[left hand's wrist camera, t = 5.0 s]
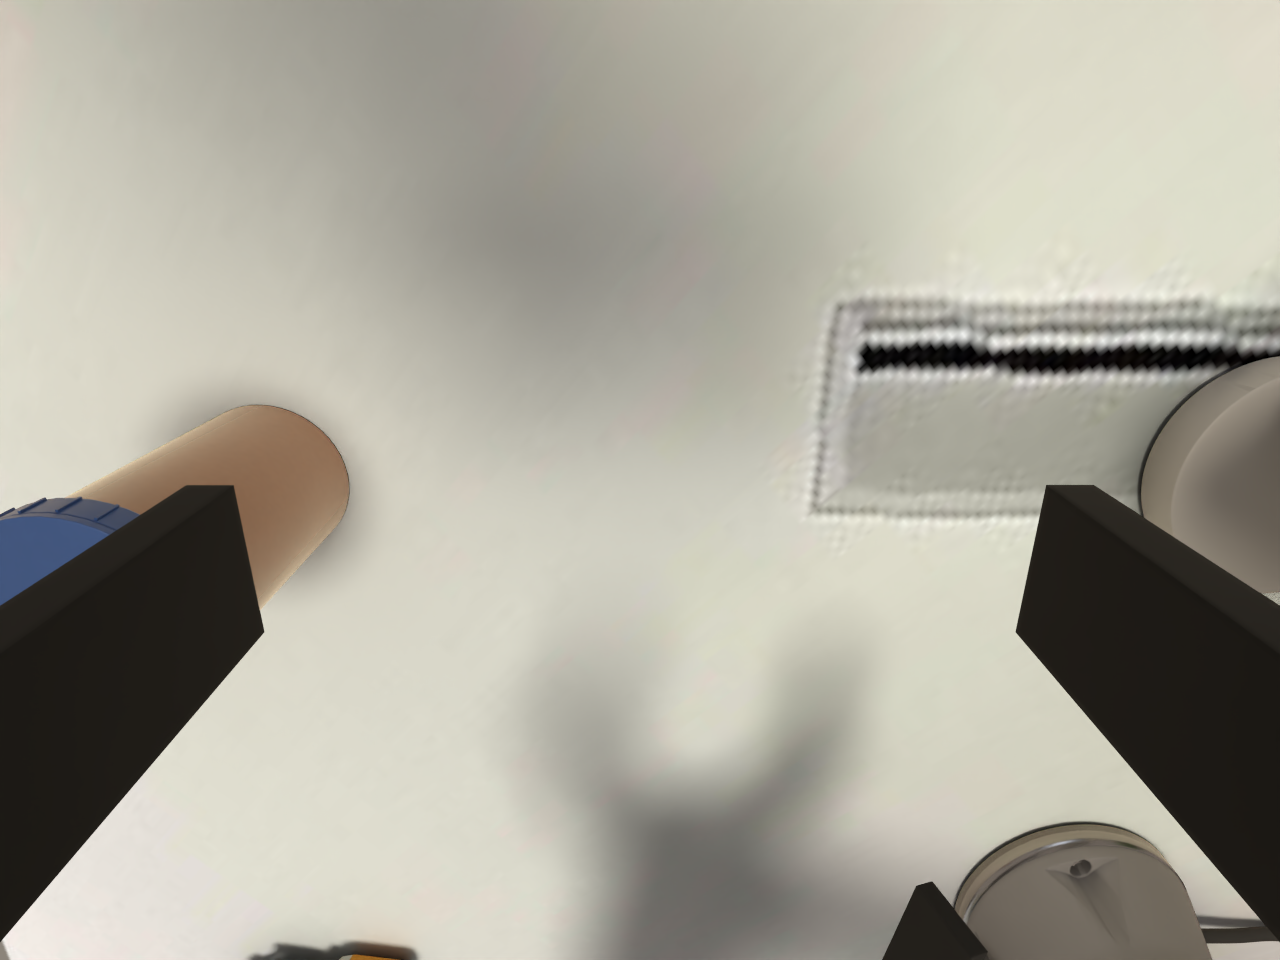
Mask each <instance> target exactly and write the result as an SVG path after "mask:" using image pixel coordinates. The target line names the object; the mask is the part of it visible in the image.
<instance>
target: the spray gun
mask: <svg viewBox="0 0 1280 960" xmlns="http://www.w3.org/2000/svg"><path fill="white" fill-rule="evenodd" d="M339 960H399V959H390V958H382V957H373V956H364V955H356V954H354V955H348V956H343V957H341V958H340V959H339Z"/></svg>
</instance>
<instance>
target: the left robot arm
mask: <svg viewBox="0 0 1280 960" xmlns="http://www.w3.org/2000/svg"><path fill="white" fill-rule="evenodd" d="M263 633H264V628H263V623H262V618H261V614H260V609H259V604H258V599H257V594H256V590H255V585H254V580H253V575H252V571H251V566H250V561H249V556H248V551H247V547H246V542H245V537H244V532H243V527H242V523H241V518H240V513H239V508H238V503H237V499H236V494H235V489H234V485H186V486H184V487H183V488H181V489H179V490H178V491H176V492H175V493H173V494H172V495H170V496H169V497H167V498H166V499H164V500H162V501H161V502H159V503H158V504H156V505H155V506H153V507H152V508H150V509H149V510H147V511H146V512H144V513H142V514H141V515H139V516H138V517H136V518H135V519H133V520H132V521H130V522H129V523H127V524H125V525H124V526H122V527H121V528H119V529H118V530H116V531H115V532H113V533H112V534H110V535H108V536H107V537H105V538H104V539H102V540H101V541H99V542H98V543H96V544H95V545H93V546H91V547H90V548H88V549H87V550H85V551H84V552H82V553H81V554H79V555H78V556H76V557H75V558H73V559H71V560H70V561H68V562H67V563H65V564H64V565H62V566H61V567H59V568H58V569H56V570H54V571H53V572H51V573H50V574H48V575H47V576H45V577H44V578H42V579H41V580H39V581H37V582H36V583H34V584H33V585H31V586H30V587H28V588H27V589H25V590H24V591H22V592H21V593H19V594H17V595H16V596H14V597H13V598H11V599H10V600H8V601H7V602H5V603H4V604H2V605H0V942H1V941H2V939H3V938H4V937H5V936H6V935H7V933H8V932H9V931H10V930H11V929H12V928H13V926H14V925H15V924H16V923H17V922H18V921H19V919H20V918H21V917H22V916H23V915H24V914H25V912H26V911H27V910H28V909H29V908H30V906H31V905H32V904H33V903H34V902H35V901H36V899H37V898H38V897H39V896H40V895H41V894H42V892H43V891H44V890H45V889H46V888H47V887H48V885H49V884H50V883H51V882H52V881H53V879H54V878H55V877H56V876H57V875H58V874H59V872H60V871H61V870H62V869H63V868H64V867H65V865H66V864H67V863H68V862H69V861H70V860H71V858H72V857H73V856H74V855H75V854H76V852H77V851H78V850H79V849H80V848H81V847H82V845H83V844H84V843H85V842H86V841H87V840H88V838H89V837H90V836H91V835H92V834H93V833H94V831H95V830H96V829H97V828H98V827H99V825H100V824H101V823H102V822H103V821H104V820H105V818H106V817H107V816H108V815H109V814H110V813H111V811H112V810H113V809H114V808H115V807H116V806H117V804H118V803H119V802H120V801H121V800H122V798H123V797H124V796H125V795H126V794H127V793H128V791H129V790H130V789H131V788H132V787H133V786H134V784H135V783H136V782H137V781H138V780H139V779H140V777H141V776H142V775H143V774H144V773H145V771H146V770H147V769H148V768H149V767H150V766H151V764H152V763H153V762H154V761H155V760H156V759H157V757H158V756H159V755H160V754H161V753H162V752H163V750H164V749H165V748H166V747H167V746H168V744H169V743H170V742H171V741H172V740H173V739H174V737H175V736H176V735H177V734H178V733H179V732H180V730H181V729H182V728H183V727H184V726H185V725H186V723H187V722H188V721H189V720H190V719H191V718H192V716H193V715H194V714H195V713H196V712H197V710H198V709H199V708H200V707H201V706H202V705H203V703H204V702H205V701H206V700H207V699H208V698H209V696H210V695H211V694H212V693H213V692H214V691H215V689H216V688H217V687H218V686H219V685H220V683H221V682H222V681H223V680H224V679H225V678H226V676H227V675H228V674H229V673H230V672H231V671H232V669H233V668H234V667H235V666H236V665H237V664H238V662H239V661H240V660H241V659H242V658H243V656H244V655H245V654H246V653H247V652H248V651H249V649H250V648H251V647H252V646H253V645H254V644H255V642H256V641H257V640H258V639H259V638H260V637H261V635H262V634H263ZM1016 633H1017V634H1018V635H1019V637H1020V638H1021V639H1022V640H1023V641H1024V642H1025V644H1026V645H1027V646H1028V647H1029V648H1030V649H1031V651H1032V652H1033V653H1034V654H1035V655H1036V656H1037V658H1038V659H1039V660H1040V661H1041V662H1042V664H1043V665H1044V666H1045V667H1046V668H1047V669H1048V671H1049V672H1050V673H1051V674H1052V675H1053V676H1054V678H1055V679H1056V680H1057V681H1058V682H1059V683H1060V685H1061V686H1062V687H1063V688H1064V689H1065V691H1066V692H1067V693H1068V694H1069V695H1070V696H1071V698H1072V699H1073V700H1074V701H1075V702H1076V703H1077V705H1078V706H1079V707H1080V708H1081V709H1082V710H1083V712H1084V713H1085V714H1086V715H1087V716H1088V718H1089V719H1090V720H1091V721H1092V722H1093V723H1094V725H1095V726H1096V727H1097V728H1098V729H1099V730H1100V732H1101V733H1102V734H1103V735H1104V736H1105V737H1106V739H1107V740H1108V741H1109V742H1110V743H1111V744H1112V746H1113V747H1114V748H1115V749H1116V750H1117V752H1118V753H1119V754H1120V755H1121V756H1122V757H1123V759H1124V760H1125V761H1126V762H1127V763H1128V764H1129V766H1130V767H1131V768H1132V769H1133V770H1134V771H1135V773H1136V774H1137V775H1138V776H1139V777H1140V779H1141V780H1142V781H1143V782H1144V783H1145V784H1146V786H1147V787H1148V788H1149V789H1150V790H1151V791H1152V793H1153V794H1154V795H1155V796H1156V797H1157V798H1158V800H1159V801H1160V802H1161V803H1162V804H1163V806H1164V807H1165V808H1166V809H1167V810H1168V811H1169V813H1170V814H1171V815H1172V816H1173V817H1174V818H1175V820H1176V821H1177V822H1178V823H1179V824H1180V825H1181V827H1182V828H1183V829H1184V830H1185V831H1186V833H1187V834H1188V835H1189V836H1190V837H1191V838H1192V840H1193V841H1194V842H1195V843H1196V844H1197V845H1198V847H1199V848H1200V849H1201V850H1202V851H1203V852H1204V854H1205V855H1206V856H1207V857H1208V858H1209V860H1210V861H1211V862H1212V863H1213V864H1214V865H1215V867H1216V868H1217V869H1218V870H1219V871H1220V872H1221V874H1222V875H1223V876H1224V877H1225V878H1226V879H1227V881H1228V882H1229V883H1230V884H1231V885H1232V887H1233V888H1234V889H1235V890H1236V891H1237V892H1238V894H1239V895H1240V896H1241V897H1242V898H1243V899H1244V901H1245V902H1246V903H1247V904H1248V905H1249V906H1250V908H1251V909H1252V910H1253V911H1254V912H1255V914H1256V915H1257V916H1258V917H1259V918H1260V919H1261V921H1262V922H1263V923H1264V924H1265V925H1266V926H1267V928H1268V929H1269V930H1270V931H1271V932H1272V933H1273V935H1274V936H1275V937H1276V938H1277V939H1278V941H1279V942H1280V605H1278V604H1276V603H1275V602H1273V601H1272V600H1270V599H1269V598H1267V597H1266V596H1264V595H1263V594H1261V593H1259V592H1258V591H1256V590H1255V589H1253V588H1252V587H1250V586H1249V585H1247V584H1246V583H1244V582H1243V581H1241V580H1239V579H1238V578H1236V577H1235V576H1233V575H1232V574H1230V573H1229V572H1227V571H1226V570H1224V569H1222V568H1221V567H1219V566H1218V565H1216V564H1215V563H1213V562H1212V561H1210V560H1209V559H1207V558H1205V557H1204V556H1202V555H1201V554H1199V553H1198V552H1196V551H1195V550H1193V549H1192V548H1190V547H1189V546H1187V545H1185V544H1184V543H1182V542H1181V541H1179V540H1178V539H1176V538H1175V537H1173V536H1172V535H1170V534H1168V533H1167V532H1165V531H1164V530H1162V529H1161V528H1159V527H1158V526H1156V525H1155V524H1153V523H1151V522H1150V521H1148V520H1147V519H1145V518H1144V517H1142V516H1141V515H1139V514H1138V513H1136V512H1134V511H1133V510H1131V509H1130V508H1128V507H1127V506H1125V505H1124V504H1122V503H1121V502H1119V501H1118V500H1116V499H1114V498H1113V497H1111V496H1110V495H1108V494H1107V493H1105V492H1104V491H1102V490H1101V489H1099V488H1097V487H1096V486H1094V485H1046V489H1045V494H1044V499H1043V503H1042V508H1041V513H1040V518H1039V523H1038V527H1037V532H1036V537H1035V542H1034V547H1033V551H1032V556H1031V561H1030V566H1029V571H1028V575H1027V580H1026V585H1025V590H1024V594H1023V599H1022V604H1021V609H1020V614H1019V618H1018V623H1017V628H1016Z"/></svg>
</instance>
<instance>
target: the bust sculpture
mask: <svg viewBox="0 0 1280 960" xmlns="http://www.w3.org/2000/svg"><path fill="white" fill-rule="evenodd" d="M1141 502H1142V509H1143V514H1144V518H1145V519H1147V520H1148V521H1150V522H1151V523H1153V524H1155V525H1156V526H1158V527H1159V528H1161V529H1162V530H1164V531H1165V532H1167V533H1168V534H1170V535H1172V536H1173V537H1175V538H1176V539H1178V540H1179V541H1181V542H1182V543H1184V544H1185V545H1187V546H1189V547H1190V548H1192V549H1193V550H1195V551H1196V552H1198V553H1199V554H1201V555H1202V556H1204V557H1205V558H1207V559H1209V560H1210V561H1212V562H1213V563H1215V564H1216V565H1218V566H1219V567H1221V568H1222V569H1224V570H1226V571H1227V572H1229V573H1230V574H1232V575H1233V576H1235V577H1236V578H1238V579H1239V580H1241V581H1243V582H1244V583H1246V584H1247V585H1249V586H1250V587H1252V588H1253V589H1255V590H1256V591H1258V592H1259V593H1274V592H1280V356H1278V357H1272V358H1267V359H1262V360H1259V361H1255V362H1252V363H1249V364H1246V365H1243V366H1241V367H1239V368H1236V369H1234V370H1232V371H1230V372H1228V373H1226V374H1224V375H1222V376H1220V377H1219V378H1217V379H1215V380H1214V381H1212V382H1211V383H1209V384H1207V385H1206V386H1205V387H1203V388H1202V389H1201V390H1199V391H1198V392H1197V393H1196V394H1194V395H1193V396H1192V397H1191V398H1190V399H1189V400H1188V401H1186V402H1185V403H1184V404H1183V405H1182V406H1181V407H1180V408H1179V410H1178V411H1177V412H1176V413H1175V414H1174V415H1173V416H1172V418H1171V419H1170V420H1169V421H1168V423H1167V424H1166V425H1165V427H1164V428H1163V430H1162V431H1161V433H1160V434H1159V436H1158V438H1157V440H1156V441H1155V443H1154V445H1153V447H1152V449H1151V452H1150V454H1149V457H1148V459H1147V462H1146V465H1145V469H1144V473H1143V478H1142V486H1141Z"/></svg>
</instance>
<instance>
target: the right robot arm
mask: <svg viewBox="0 0 1280 960" xmlns="http://www.w3.org/2000/svg"><path fill="white" fill-rule="evenodd" d="M1259 941H1278V939H1277V938H1276V937H1275V936H1274V935H1273V933H1272V932H1271V931H1270V930H1269V929H1268V928H1267V926H1265V927H1249V928H1230V929H1201V928H1200V925H1199V922H1198V920H1197V917H1196V914H1195V911H1194V909H1193V906H1192V904H1191V901H1190V898H1189V896H1188V893H1187V891H1186V888H1185V886H1184V884H1183V882H1182V880H1181V879H1180V877H1179V876H1178V875H1177V873H1176V872H1175V871H1174V870H1173V868H1172V867H1171V866H1170V864H1169V863H1168V862H1167V861H1166V859H1165V858H1164V857H1163V856H1162V854H1161V853H1160V852H1159V851H1158V850H1157V849H1156V848H1155V847H1154V846H1153V845H1151V844H1150V843H1149V842H1147V841H1146V840H1144V839H1143V838H1141V837H1139V836H1137V835H1135V834H1133V833H1130V832H1128V831H1125V830H1122V829H1118V828H1114V827H1109V826H1103V825H1089V824H1080V825H1067V826H1060V827H1055V828H1050V829H1046V830H1042V831H1038V832H1036V833H1033V834H1030V835H1027V836H1025V837H1022V838H1020V839H1018V840H1016V841H1014V842H1012V843H1010V844H1008V845H1006V846H1004V847H1003V848H1001V849H1000V850H998V851H997V852H995V853H994V854H992V855H991V856H990V857H988V858H987V859H986V860H985V861H984V862H983V863H981V864H980V865H979V866H978V867H977V868H976V869H975V871H974V872H973V873H972V874H971V875H970V877H969V878H968V879H967V881H966V882H965V884H964V885H963V887H962V889H961V891H960V893H959V896H958V898H957V901H956V905H955V910H954V908H953V907H952V906H951V904H950V903H949V902H948V901H947V899H946V898H945V897H944V896H943V894H942V893H941V892H940V891H939V889H938V888H937V887H936V886H935V884H934V883H933V882H928V883H925V884H921V885H918V886H916V888H915V890H914V892H913V894H912V897H911V899H910V901H909V903H908V905H907V907H906V910H905V912H904V914H903V916H902V918H901V920H900V923H899V925H898V927H897V929H896V931H895V933H894V936H893V938H892V940H891V942H890V944H889V946H888V949H887V951H886V953H885V955H884V957H883V959H882V960H1212V958H1211V955H1210V952H1209V949H1208V947H1207V944H1206V943H1247V942H1259Z"/></svg>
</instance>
